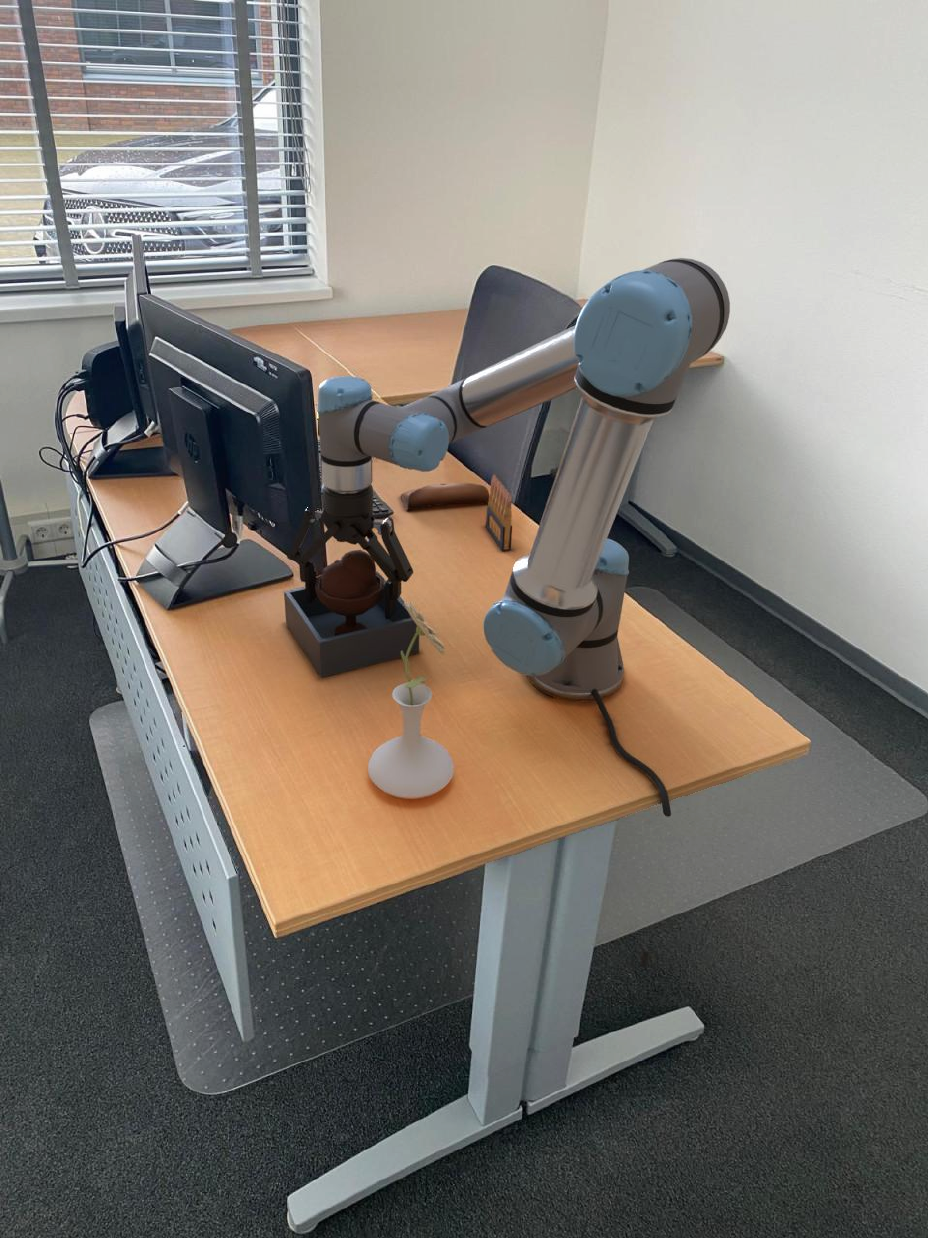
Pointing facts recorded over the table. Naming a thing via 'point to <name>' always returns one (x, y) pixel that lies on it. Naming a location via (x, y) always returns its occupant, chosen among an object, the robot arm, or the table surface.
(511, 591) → the robot arm
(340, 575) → the ice cream bowl
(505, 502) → the ammunition clip
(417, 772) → the flower in vase
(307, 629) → the open square box
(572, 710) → the table surface
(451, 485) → the sunglasses case
